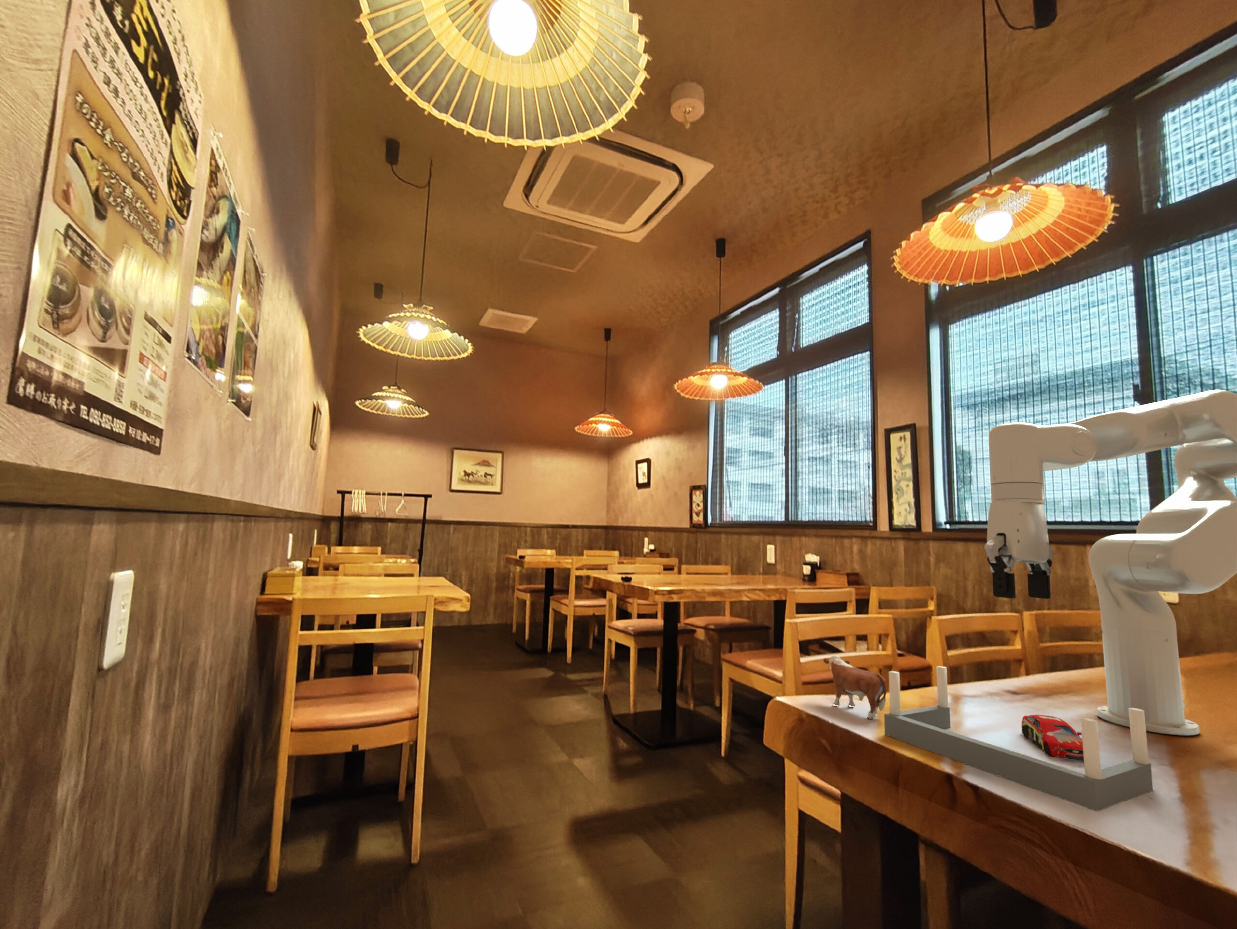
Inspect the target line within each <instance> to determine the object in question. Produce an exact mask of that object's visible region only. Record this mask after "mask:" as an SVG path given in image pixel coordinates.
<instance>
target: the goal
mask: <svg viewBox="0 0 1237 929" xmlns="http://www.w3.org/2000/svg"><path fill="white" fill-rule="evenodd" d="M935 667H936V686H937V688H936V689H937V691H936V693H937V705H930V706H925V707H924V706H923V707H919V708H912V709H905V710H901V685H900V684H901V683H900V672H898V671H895V670H894V671H893V670H891V671H888V681H889V682H888V683H889V684H888V685H889V686H888V687H889V712H886V713H884V714H883V717H884V718H883V720H884V735H885V734H886V735H885V736H887V735H889V736H891V737H890V738H892V737H894V738H893V739H895V738H896V740H899V741H900V740H901V742H903V741H904V742H903V743H906V744H909V745H911V746H915V747H917V748H921V749H923V750H926V751H928V752H932V753H934V754H937V755H939V756H942V757H945V758H948V759H951V760H954V761H956V762H959V763H961V764H964V765H967V766H970V767H973V768H975V769H979V770H981V771H985V772H987V773H990V774H992V775H995V776H997V777H1000V778H1004V779H1007V780H1010V781H1013V782H1014V783H1017V784H1020V785H1023V786H1026V787H1028V788H1031V789H1034V790H1037V791H1040V792H1042V793H1045V794H1048V795H1051V796H1052V797H1056V798H1059V799H1061V800H1064V801H1067V802H1071V803H1073V804H1076V805H1078V806H1081V807H1084V808H1087V809H1090V810H1093V811H1095V812H1099V811H1102V810H1104V809H1107V808H1109V807H1113V806H1115V805H1118V804H1120V803H1123V802H1126V801H1128V800H1132V799H1134V798H1136V797H1139V796H1141V795H1144V794H1147V793H1150V792H1152V791H1154V785H1153V776H1152V774H1153V773H1152V765H1151V764H1152V763H1150V762H1149V752H1148V751H1149V750H1148V741H1147V740H1148V739H1147V731H1146V727H1145V715H1144V710H1141V709H1136V708H1129V719H1130V727H1129V728H1130V740H1131V741H1130V742H1131V754H1132V759H1130V760H1127V761H1124V762H1121V763H1117V764H1113V765H1111V766H1107V767H1104V768H1101V766H1102V765H1101V755H1100V741H1099V740H1100V739H1099V728H1098V726H1099V725H1098V721H1097V720H1096V719H1092V718H1087V717H1081V718H1080V722H1081V723H1080V724H1081V725H1080V726H1081V733H1082V735H1081V736H1082V737H1081V738H1082V740H1083V753H1084V761H1083V763H1084V764H1083V765H1084V773H1082V772H1079V771H1076V770H1073V769H1070V768H1067V767H1064V766H1061V765H1057V764H1054V763H1051V762H1047V761H1045V760H1043V759H1038V758H1036V757H1035V758H1034V757H1032V756H1028V755H1026V754H1023V753H1020V752H1017V751H1013V750H1010V749H1007V748H1004V747H1001V746H997V745H994V744H991V743H989V742H984V741H982V740H978V739H975V738H972V737H969V736H966V735H962V734H959V733H957V732H953V731H951V730H947V729H949V728H951V708H950V706H949V698H948V696H949V695H948V673H947V672H948V671H947V666H940V665H938V666H935ZM889 736H888V737H889Z"/></svg>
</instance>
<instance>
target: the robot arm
mask: <svg viewBox="0 0 1237 929" xmlns="http://www.w3.org/2000/svg"><path fill="white" fill-rule="evenodd" d="M1177 446H1179V447H1178V448H1177V450H1176V452H1175V455H1174V459H1173V460H1174V461H1173V462H1174V468H1175V472H1176V477H1177V482H1178V483H1177V484H1178V488H1177V490H1176V491H1175V492H1174V493H1172V494H1171V495H1170V496H1168V497H1167V498H1166V499H1164V500H1163V501H1161V502H1160V503H1159V504H1158V505H1156V506H1155V507H1154V508H1152V509H1151V510H1150V511H1148V512H1147V513H1146V514H1145V515H1144V516H1143V517H1142V518H1141V520H1140V521H1139V522H1138V525H1137V526H1136V530H1135V531H1136V533H1118V534H1113V535H1112V534H1111V535H1107V536H1105V537H1102V538H1100V539H1098V540H1097V541H1095V543H1094V544H1092V546H1091V548H1090V549H1089V553H1088V564H1089V568H1090V569H1089V570H1090V572H1091V575H1092V579H1093V581H1094V584H1095V587H1096V592H1097V597H1098V603H1099V611H1100V623H1101V626H1100V627H1101V636H1102V637H1101V638H1102V648H1103V649H1102V650H1103V662H1104V664H1103V665H1104V673H1105V674H1104V675H1105V676H1104V677H1105V685H1106V686H1105V687H1106V701H1107V705H1103V706H1098V707H1097V708H1096V716H1098V717H1099V718H1101V719H1102V720H1104V721H1106V722H1110V723H1112V724H1116V725H1119V726H1123V727H1127V728H1130V719H1129V708H1136V709H1141V710H1144V715H1145V727H1146V732H1151V733H1156V734H1165V735H1170V736H1171V735H1174V736H1197V735H1199V734H1200V732H1201V731H1200V725H1199V724H1197V723H1196V722H1194V721H1192V720H1189V719H1186V717H1185V707H1186V702H1185V701H1184V696H1183V688H1182V676H1181V666H1180V656H1179V655H1180V654H1179V645H1178V634H1177V632H1178V630H1177V622H1176V619H1175V615H1174V613H1173V610H1172V609H1171V608H1170V606H1169V604H1168V602H1167V601H1166V600H1165V598H1164V597H1163V596H1162V595H1161V593H1163V592H1164V593H1173V594H1185V595H1186V594H1187V595H1189V594H1190V595H1198V594H1205V593H1209V592H1212V591H1214V590H1216V589H1218V588H1220V587H1221V586H1223V585H1224V584H1225V583H1226V582H1228V581H1229V580H1230V579H1231V578H1232V577H1234V576H1235V575H1236V574H1237V497H1236V495H1235V494H1234V492H1232V490H1230V488H1229V487H1228V486H1226V485H1225V479H1234V478H1235V479H1236V478H1237V393H1235V392H1231V391H1229V390H1224V389H1214V390H1207V391H1203V392H1199V393H1195V394H1189V395H1185V396H1180V397H1176V398H1171V399H1167V400H1165V399H1164V400H1161V401H1157V402H1152V403H1151V402H1150V403H1147V404H1142V405H1138V406H1133V407H1126V408H1122V409H1118V410H1113V411H1108V412H1104V413H1101V414H1097V415H1092V416H1089V417H1085V418H1082V419H1080V420H1076V421H1073V422H1069V423H1066V424H1050V425H1049V424H1048V425H1036V424H1034V423H1030V422H1029V423H1028V422H1012V423H1011V422H1010V423H1004V424H999V425H997V426H994V427H992V428H991V429H990V431H989V433H988V449H989V451H988V453H989V454H988V455H989V474H990V475H989V477H990V495H991V496H990V498H991V500H990V501H991V502H990V503H989V509H988V516H987V527H986V529H987V531H986V532H987V535H986V543H985V544H984V551H985V554H986V557H987V558H986V559H987V563H988V564H989V565H990V566H989V570H990V572H991V573H992V595H993V596H994V597H995V598H1003V599H1015V598H1016V595H1017V594H1016V577H1015V573H1014V572H1013V569H1014V567H1015V565H1016V563H1025V565H1026V567H1027V570H1029V573H1027V574H1026V575H1027V593H1028V597H1029V598H1033V599H1043V600H1044V599H1045V600H1050V599H1051V597H1052V596H1051V594H1052V592H1051V577H1050V576H1051V574H1052V570H1051V567H1052V565H1053V561H1052V560H1053V554H1054V550H1053V548H1052V547H1051V546H1050V543H1049V542H1050V541H1049V534H1048V531H1049V530H1048V524H1047V518H1046V514H1045V513H1046V512H1045V509H1044V505H1046V494H1045V493H1046V492H1045V478H1044V475H1045V474H1044V472H1049V471H1056V470H1057V471H1058V470H1066V469H1072V468H1078V467H1080V466H1083V465H1086V464H1087V463H1089V462H1092V463H1093V462H1102V461H1109V460H1110V461H1111V460H1117V459H1123V458H1129V457H1133V456H1136V455H1141V454H1145V453H1150V452H1155V451H1159V450H1160V451H1161V450H1164V449H1169V448H1171V447H1177ZM1012 572H1013V573H1012ZM1160 592H1161V593H1160Z"/></svg>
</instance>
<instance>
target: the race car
mask: <svg viewBox="0 0 1237 929" xmlns="http://www.w3.org/2000/svg"><path fill="white" fill-rule="evenodd" d="M1021 719H1022V720H1021V733H1022V734H1023V737H1025V738H1026V739H1027V740H1029V741H1031V742H1032V743H1033V744H1034V745H1036V746H1037V747H1039V749H1041V750H1042V751H1044V753H1045V755H1047V756H1048V757H1050V758H1060V759H1065V760H1071V761H1075V762H1076V761H1077V762H1078V761H1080V762H1084V753H1083V740H1082V737H1081V736H1082V731H1081V732H1080V731H1076V730H1075V729H1074V728H1073V727H1072V726H1071V725H1070V724H1069V723H1068V722H1066V721H1065V720H1063V719H1061V718H1059V717H1057V716H1053V715H1043V714H1029V715H1024V716H1023V717H1022V718H1021Z"/></svg>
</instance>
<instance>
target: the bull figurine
mask: <svg viewBox="0 0 1237 929" xmlns="http://www.w3.org/2000/svg"><path fill="white" fill-rule="evenodd" d="M823 663H824V664H826V665H827V664H829V669H830V671H831V673H832V681H833V683H834V684H835V691H836V692H835V699H834V701H833V703H832V704H835V705H841V704H840V699H841V698H842V694H845V695H847V696H848V699H849V700H848V701H849V702H848V705H851V706H854V707H855V706H856V704H855V702H854V695H856V696H857V697H858V700H859V701H861V702H862V701H863V699H864V698H865V697H866V698H867V700H868V704H869V708H870V710H869V712H868V716H867V717H866V719H867V718H869V719H868V720H870V719H872V720H873V719H874V718H876V715H878V713H879V712H878V709H879V711H880V712H882V711H884V709H885V708H884V707H885V706H886V697H887V696H886V695H887V680H886V679H885V678H884V677H883V676H882V675H881V674H880V673H877V672H873V671H868V670H865V669H860V668H857V667H855V666H853V665H852V664H850V663H851V662H850V661H849V660H847V659H845V660H843V659H841V657H840V656H839V655H837V654H833V655H831V657H830V658H823ZM881 697H882V698H881ZM848 705H847V706H848ZM869 713H870V714H869Z"/></svg>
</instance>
